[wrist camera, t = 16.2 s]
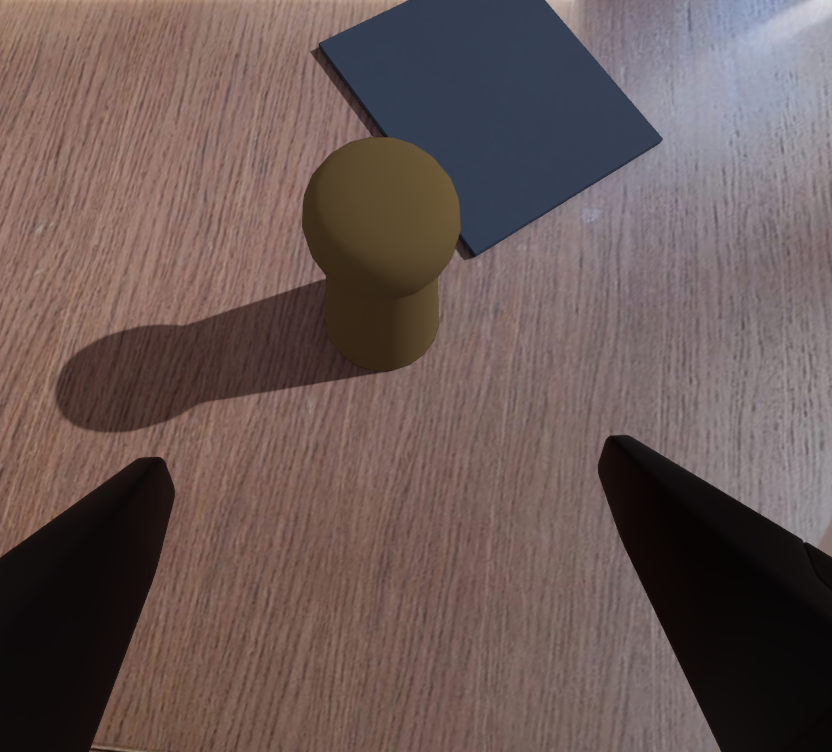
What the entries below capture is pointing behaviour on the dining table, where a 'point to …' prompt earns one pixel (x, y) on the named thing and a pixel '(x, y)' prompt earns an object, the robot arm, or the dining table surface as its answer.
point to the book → (492, 104)
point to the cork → (381, 247)
